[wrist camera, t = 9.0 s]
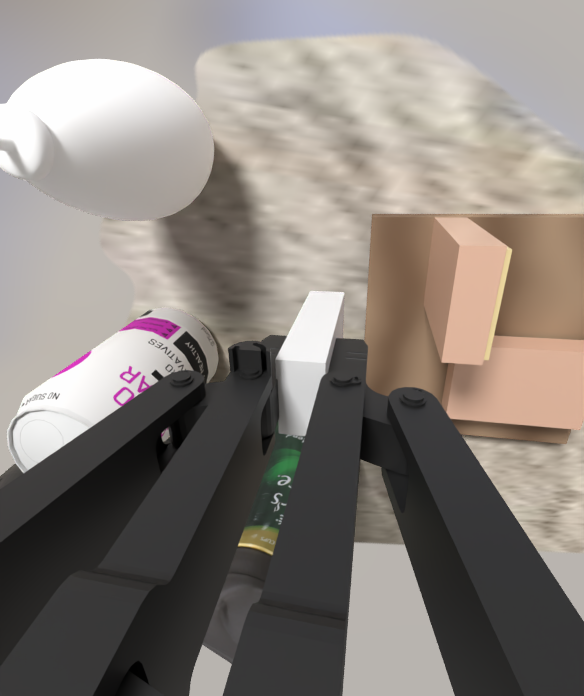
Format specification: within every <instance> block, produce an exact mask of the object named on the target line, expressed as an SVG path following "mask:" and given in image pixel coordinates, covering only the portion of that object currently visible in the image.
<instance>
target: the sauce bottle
mask: <svg viewBox="0 0 584 696" xmlns="http://www.w3.org/2000/svg"><path fill="white" fill-rule="evenodd" d="M213 160H214V141H213V134H212V131H211V128H210V124H209V122H208V120H207V118H206V116H205V115H204V113H203V111H202V109H201V108H200V107H199V106H198V104H197V103H196V102H195V101H194V99H192V97H191V96H190V95H188V94H187V93H186V92H185V91H184V90H183V89H182V88H180V87H179V86H178V85H177V84H175V83H173V82H172V81H170V80H168V79H167V78H165V77H164V76H162V75H160V74H158V73H156V72H154V71H151V70H149V69H146V68H144V67H141V66H138V65H135V64H132V63H127V62H121V61H115V60H108V59H90V60H79V61H72V62H67V63H63V64H60V65H57V66H55V67H52V68H51V69H48V70H46V71H43V72H41V73H39V74H37V75H35V76H33V77H32V78H30V79H29V80H27V81H26V82H25V83H24V84H23V85H21V86H20V87H19V88H18V89H17V90H16V91H15V93H13V95H12V96H11V98H10V99H9V101H8V103H7V104H0V168H1V169H2V170H4V171H5V172H6V173H8V174H10V175H12V176H13V177H16V178H18V179H22V180H26V181H27V182H29V183H30V184H31V185H32V186H34V187H35V188H37V189H38V190H39V191H41V192H43V193H44V194H46V195H48V196H50V197H51V198H54V199H55V200H57V201H59V202H61V203H63V204H65V205H67V206H70V207H73V208H75V209H78V210H80V211H83V212H86V213H89V214H92V215H96V216H100V217H105V218H110V219H115V220H122V221H148V220H155V219H159V218H162V217H166V216H170V215H173V214H175V213H177V212H179V211H180V210H182V209H183V208H185V207H187V206H188V205H189V204H191V203H192V202H193V201H194V199H195V198H196V197H197V196H198V195H199V194H200V193H201V191H202V190H203V188H204V186H205V185H206V183H207V181H208V178H209V175H210V173H211V170H212V165H213Z"/></svg>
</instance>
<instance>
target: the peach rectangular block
mask: <svg viewBox="0 0 584 696" xmlns="http://www.w3.org/2000/svg"><path fill="white" fill-rule="evenodd" d="M442 407H443V408H444V410H445V411H446V413H447V415H448V416H449V418H450V419H460V420H472V421H483V422H494V423H506V424H517V425H529V426H540V427H551V428H563V429H574V430H580V429H581V426H582V423H583V420H584V340H570V339H550V338H531V337H511V336H494V338H493V342H492V347H491V352H490V356H489V360H484V361H483V365H472V364H457V363H448V368H447V374H446V380H445V386H444V392H443V398H442Z"/></svg>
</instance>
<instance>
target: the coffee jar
mask: <svg viewBox="0 0 584 696" xmlns="http://www.w3.org/2000/svg"><path fill="white" fill-rule="evenodd" d="M304 439H305V436H298V435H289V434H280V433H279V426H278V422H277V425H276V428H275V445H274V448H273V450H272V453H271V456H270V459H269V461H268V464H267V467H266V470H265V472H264V475H263V478H262V481H261V483H260V486H259V489H258V492H257V495H256V497H255V500H254V503H253V506H252V508H251V511H250V514H249V517H248V519H247V522H246V525H245V528H244V530H243V533H242V536H241V539H240V541H239V544H238V547H237V550H236V552H235V555H234V558H233V561H232V563H231V566H230V569H229V572H228V575H227V577H226V580H225V583H224V586H223V588H222V591H221V594H220V597H219V599H218V602H217V605H216V608H215V610H214V613H213V616H212V619H211V621H210V624H209V627H208V630H207V632H206V635H205V638H204V641H203V643H202V645H204V646H206V647H207V648H209V649H210V650H212V651H213V652H215V653H216V654H218V655H219V656H221V657H222V658H224V659H225V660H227V661H228V662H230V663H231V664H232V662H233V659H234V656H235V652H236V649H237V645H238V642H239V639H240V635H241V632H242V629H243V625H244V622H245V619H246V617H247V614H248V611H249V609H250V607H251V606H252V604H253V603H256V602H258V601H259V599H260V597H261V594H262V591H263V587H264V584H265V580H266V576H267V573H268V569H269V566H270V562H271V558H272V555H273V551H274V547H275V544H276V540H277V537H278V533H279V529H280V526H281V522H282V518H283V515H284V511H285V508H286V504H287V500H288V497H289V493H290V489H291V486H292V482H293V478H294V475H295V471H296V468H297V464H298V460H299V457H300V453H301V449H302V446H303V442H304Z"/></svg>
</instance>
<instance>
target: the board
mask: <svg viewBox="0 0 584 696" xmlns="http://www.w3.org/2000/svg"><path fill="white" fill-rule="evenodd" d="M434 217H467V218H468V219H470V220H471V221H473V222H474V223H476V224H477V225H478V226H480V227H481V228H483V229H484V230H485V231H487V232H488V233H490V234H491V235H492V236H494V237H495V238H497V239H498V240H499V241H501V242H502V243H504V244H505V245H507V246H508V247H509V248H511V249H512V254H511V258H510V263H509V268H508V272H507V277H506V282H505V286H504V291H503V296H502V300H501V305H500V310H499V314H498V319H497V324H496V328H495V333H494V336H511V337H531V338H550V339H570V340H584V214H372V226H371V243H370V259H369V275H368V292H367V308H366V324H365V341H364V342H365V343H366V344H367V345H368V356H367V372H366V384H367V385H368V387H369V388H370V389H372V390H373V391H375V392H377V393H379V394H382V395H385V396H389V394H390V393H391V391H393V390H395V389H397V388H403V387H416V388H420V389H423V390H426V391H428V392H430V393H431V394H433V395H434V396H435V397H436V398H437V399H438V401H439V402H440V404H441V405H442V398H443V392H444V386H445V380H446V374H447V368H448V363H441V360H440V356H439V353H438V350H437V347H436V343H435V340H434V337H433V334H432V330H431V327H430V324H429V321H428V318H427V314H426V311H425V308H424V305H423V304H424V296H425V289H426V281H427V273H428V265H429V257H430V249H431V241H432V233H433V225H434ZM451 421H452V422H453V424H454V425H455V427H456V428H457V430H458V431H459V433H460V434H464V435H475V436H485V437H496V438H507V439H517V440H528V441H539V442H549V443H560V444H566V443H567V440H568V437H569V435H570V432H571V429H563V428H551V427H540V426H529V425H517V424H506V423H494V422H483V421H472V420H460V419H451Z"/></svg>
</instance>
